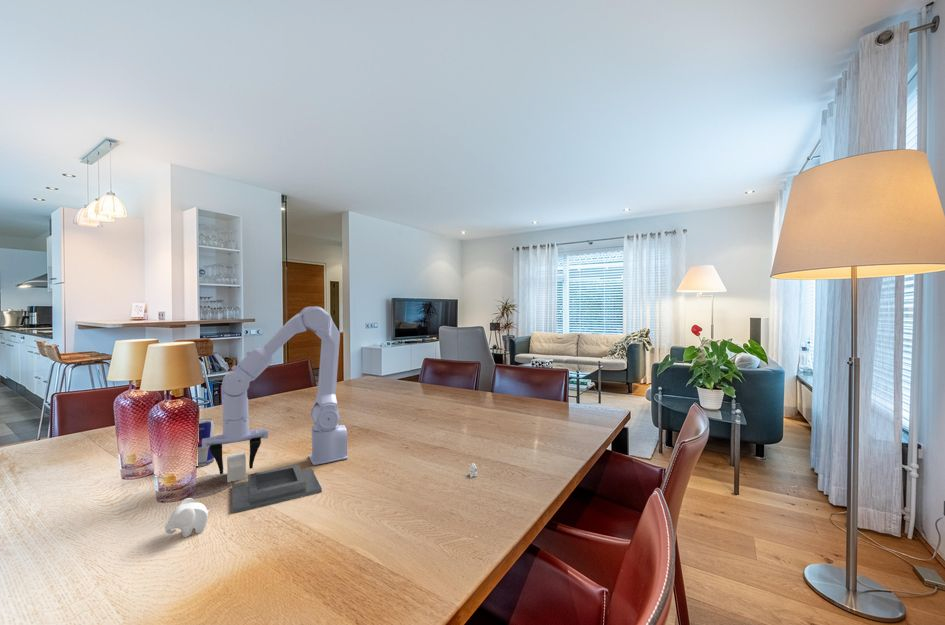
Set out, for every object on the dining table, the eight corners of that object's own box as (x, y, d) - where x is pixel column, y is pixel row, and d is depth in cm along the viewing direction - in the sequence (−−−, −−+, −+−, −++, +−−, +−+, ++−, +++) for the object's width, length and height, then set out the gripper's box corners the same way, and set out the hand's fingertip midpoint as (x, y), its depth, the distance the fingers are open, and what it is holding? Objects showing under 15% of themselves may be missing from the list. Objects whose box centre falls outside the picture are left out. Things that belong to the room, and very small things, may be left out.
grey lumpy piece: (479, 477, 100) (479, 465, 100) (470, 479, 99) (470, 467, 99) (473, 473, 103) (473, 461, 103) (464, 475, 102) (464, 463, 102)
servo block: (245, 469, 105) (244, 451, 105) (246, 480, 98) (245, 460, 98) (227, 472, 103) (227, 454, 103) (227, 484, 96) (227, 464, 96)
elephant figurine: (164, 532, 76) (163, 501, 76) (213, 518, 80) (213, 490, 80) (163, 549, 70) (162, 516, 70) (216, 533, 75) (215, 503, 75)
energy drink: (202, 468, 106) (201, 424, 106) (185, 466, 107) (185, 423, 107) (218, 460, 111) (218, 418, 111) (202, 459, 112) (202, 417, 112)
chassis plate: (311, 470, 104) (311, 460, 104) (321, 491, 92) (321, 480, 92) (232, 487, 94) (232, 476, 94) (232, 513, 82) (232, 500, 82)
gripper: (266, 410, 108) (266, 459, 108) (202, 418, 100) (203, 470, 100) (268, 416, 102) (268, 467, 102) (201, 425, 94) (201, 481, 94)
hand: (236, 470), depth 101 cm, fingers open, 6 cm apart
